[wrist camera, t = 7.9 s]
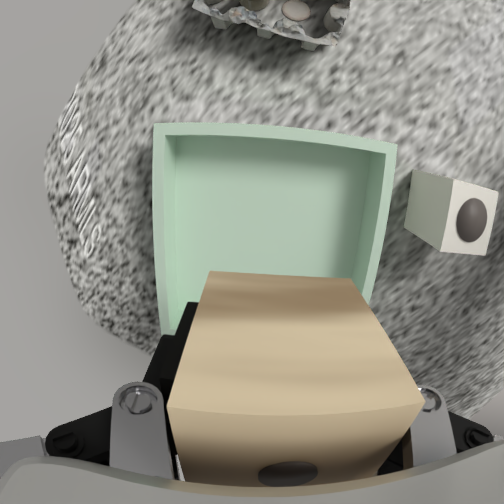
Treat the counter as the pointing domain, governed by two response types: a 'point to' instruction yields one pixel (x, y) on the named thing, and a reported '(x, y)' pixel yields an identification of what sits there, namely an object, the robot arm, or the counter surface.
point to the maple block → (287, 384)
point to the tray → (264, 206)
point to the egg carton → (283, 27)
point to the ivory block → (450, 213)
